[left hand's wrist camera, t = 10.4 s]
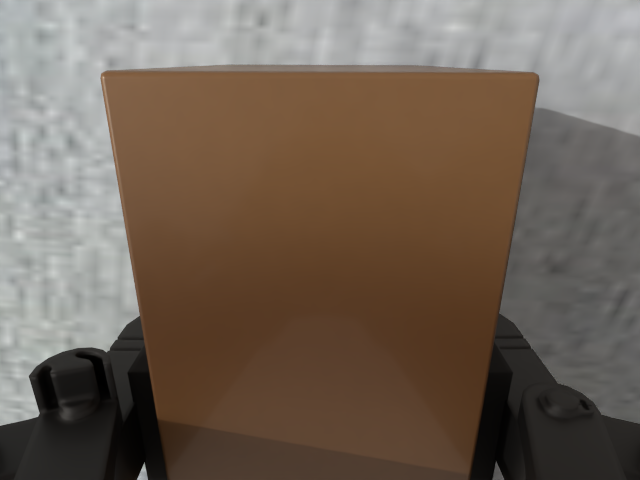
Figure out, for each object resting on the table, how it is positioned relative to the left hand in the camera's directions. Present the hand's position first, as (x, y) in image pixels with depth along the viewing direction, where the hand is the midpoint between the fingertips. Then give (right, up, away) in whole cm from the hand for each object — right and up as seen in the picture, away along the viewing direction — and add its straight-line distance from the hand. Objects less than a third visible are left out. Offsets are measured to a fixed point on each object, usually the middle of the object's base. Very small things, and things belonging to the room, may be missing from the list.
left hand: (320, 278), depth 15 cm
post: (0, -23, +10) cm, 25 cm away
